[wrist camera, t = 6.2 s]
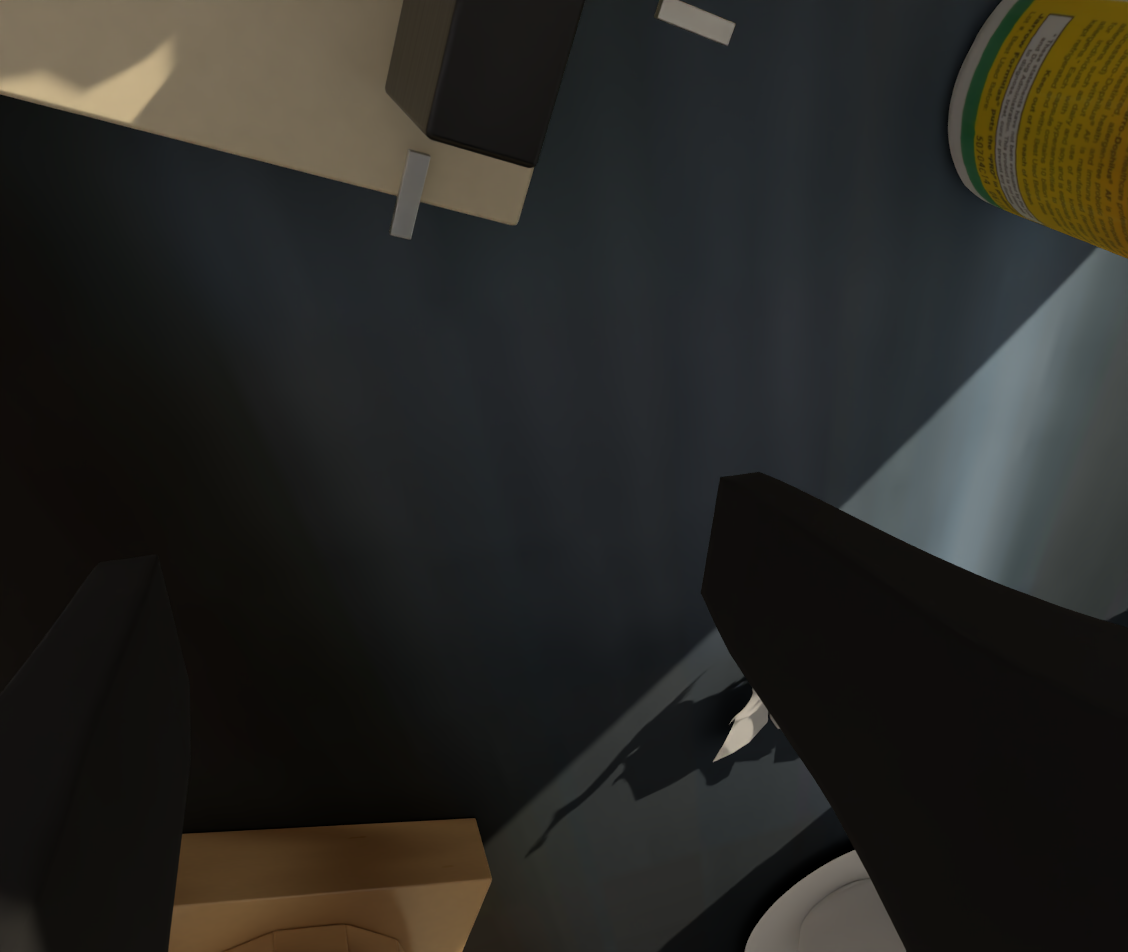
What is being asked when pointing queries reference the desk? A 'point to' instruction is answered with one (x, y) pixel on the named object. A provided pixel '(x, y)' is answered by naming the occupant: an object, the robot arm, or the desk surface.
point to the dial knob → (483, 71)
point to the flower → (745, 726)
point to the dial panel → (266, 88)
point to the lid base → (331, 888)
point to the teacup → (828, 914)
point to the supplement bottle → (1048, 116)
